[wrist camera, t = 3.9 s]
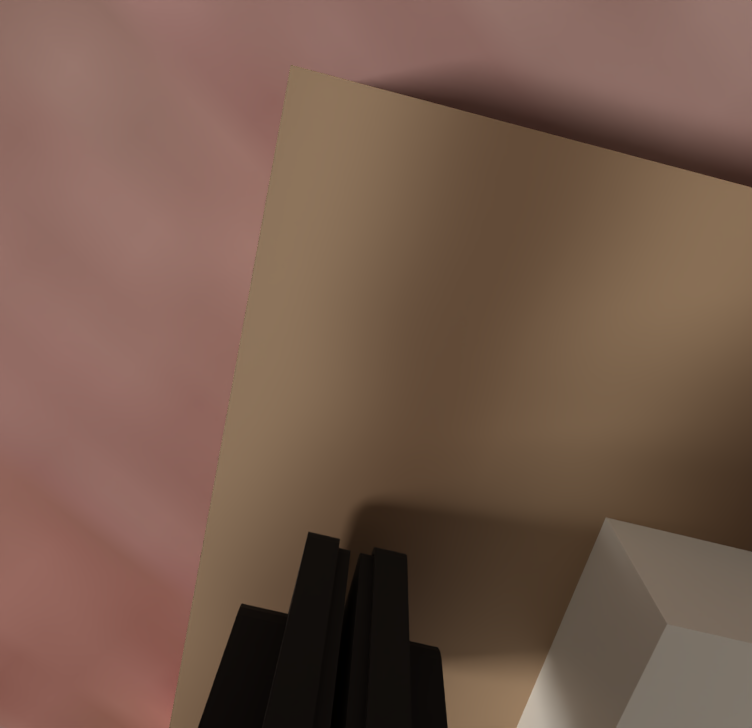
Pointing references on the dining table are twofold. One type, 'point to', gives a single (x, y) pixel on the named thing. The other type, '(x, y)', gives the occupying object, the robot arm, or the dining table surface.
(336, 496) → the tan wooden board
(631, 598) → the cream tile
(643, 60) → the dining table surface
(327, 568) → the robot arm
